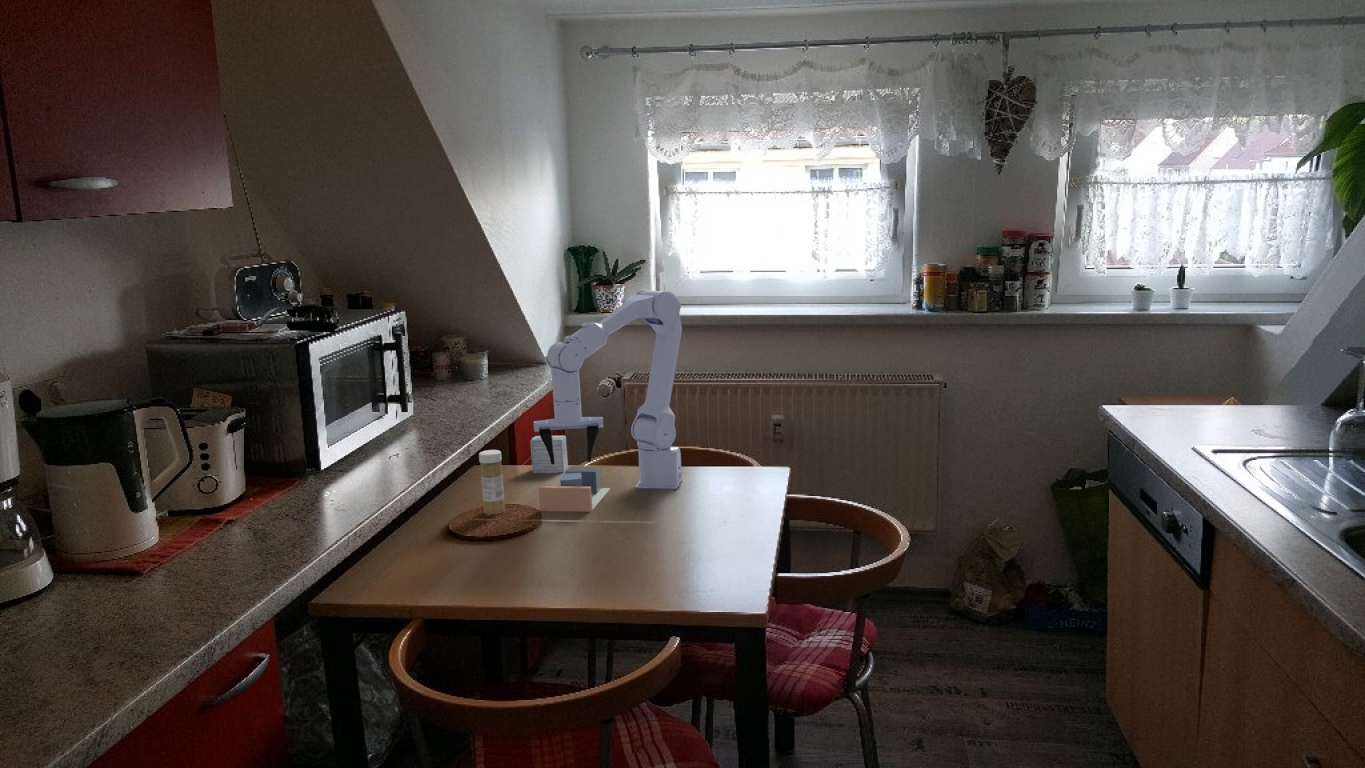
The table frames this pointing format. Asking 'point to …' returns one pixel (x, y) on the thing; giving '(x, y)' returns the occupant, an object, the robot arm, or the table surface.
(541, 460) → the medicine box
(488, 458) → the sprinkles bottle
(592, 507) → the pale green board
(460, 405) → the table surface
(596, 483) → the grey toy block
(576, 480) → the slate blue carton
